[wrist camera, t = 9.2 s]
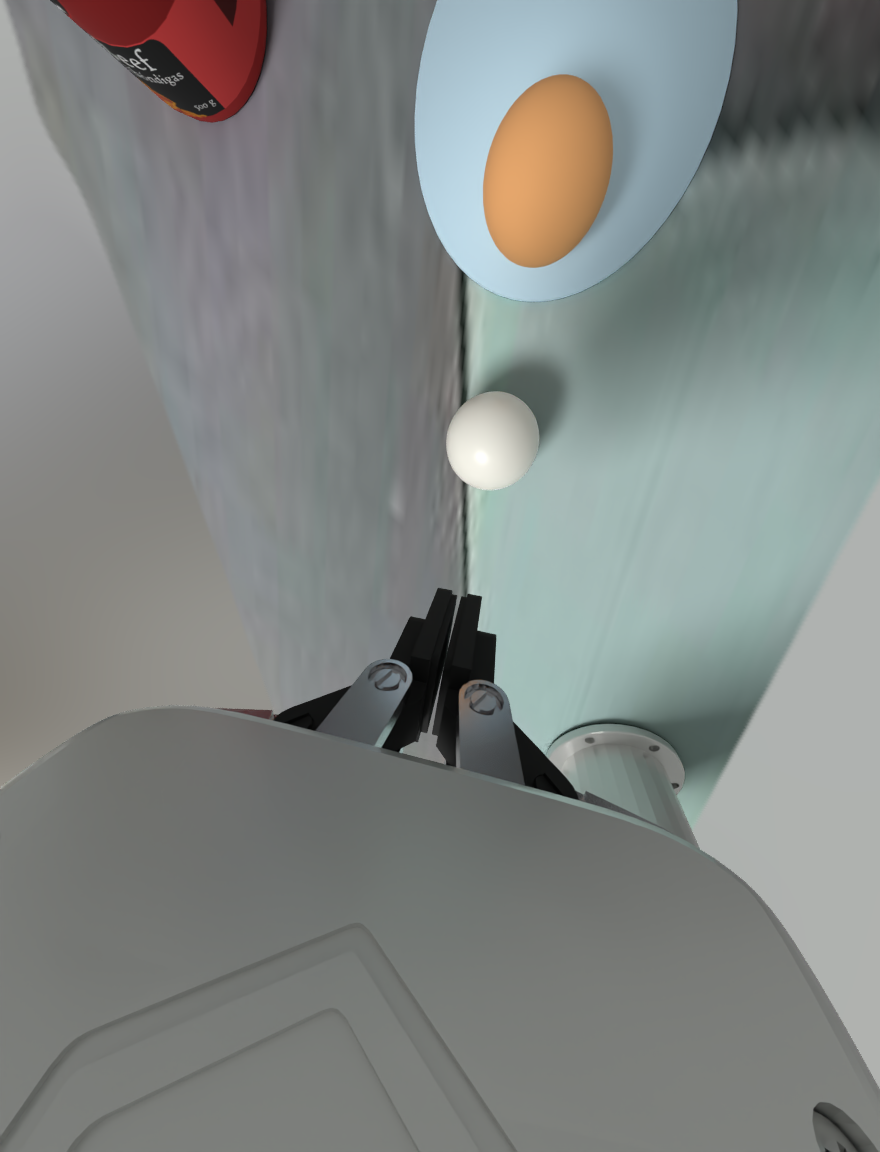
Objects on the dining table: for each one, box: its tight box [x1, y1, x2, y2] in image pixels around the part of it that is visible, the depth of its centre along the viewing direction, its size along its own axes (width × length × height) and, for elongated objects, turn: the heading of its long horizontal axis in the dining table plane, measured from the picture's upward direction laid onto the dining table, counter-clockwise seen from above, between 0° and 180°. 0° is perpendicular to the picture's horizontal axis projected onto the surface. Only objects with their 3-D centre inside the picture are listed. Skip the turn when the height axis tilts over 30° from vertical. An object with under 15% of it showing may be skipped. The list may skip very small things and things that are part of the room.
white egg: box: [446, 391, 539, 490], centre depth 20 cm, size 6×6×6 cm
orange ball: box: [483, 74, 613, 268], centre depth 15 cm, size 6×6×6 cm
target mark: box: [415, 0, 737, 302], centre depth 16 cm, size 14×14×1 cm
